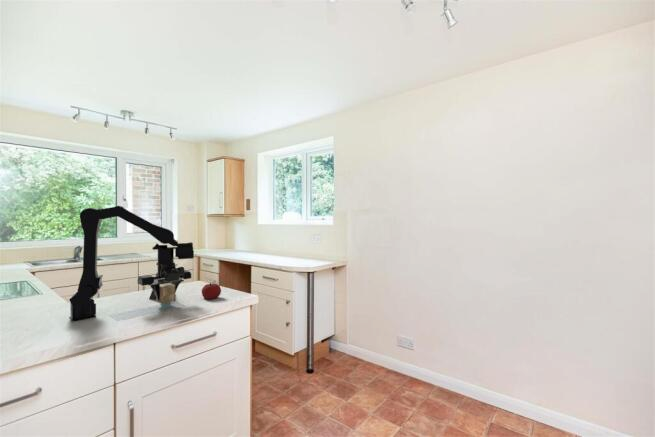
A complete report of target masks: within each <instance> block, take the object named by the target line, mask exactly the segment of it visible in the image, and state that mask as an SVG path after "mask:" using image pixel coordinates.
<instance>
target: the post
mask: <svg viewBox="0 0 655 437" xmlns="http://www.w3.org/2000/svg"><path fill="white" fill-rule="evenodd" d="M160 304H161V303H160ZM161 307H163V308H166V307H170V302H168V303H163V304H161Z"/></svg>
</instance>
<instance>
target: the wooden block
mask: <svg viewBox="0 0 655 437" xmlns="http://www.w3.org/2000/svg"><path fill="white" fill-rule="evenodd" d="M159 293H160V298H159V300H157V298H155V301H156V302H157V303H159V304H163V303H168V302H175V301H176V296H175V295H176V293H175V285H174V284H171V283H167V284H160V286H159Z"/></svg>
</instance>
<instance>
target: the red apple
mask: <svg viewBox="0 0 655 437" xmlns="http://www.w3.org/2000/svg"><path fill="white" fill-rule="evenodd" d="M221 294H222V289H221V286H220V285H219V284H218V283H212V282H209V283H207V284H205V285H203V287H202V289H201V295H202V297H203V298H204V299H206V300H210V301H211V300H214V299H218V298H219V297H220V295H221Z"/></svg>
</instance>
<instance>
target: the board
mask: <svg viewBox="0 0 655 437" xmlns="http://www.w3.org/2000/svg"><path fill="white" fill-rule="evenodd" d="M182 307H187V305H186V304H183V303H181V302H179V301H176V300H175V301H173V302H170V307H166V308H163V307H161V303H159V304H156V305H151V306H146V307H145V306H144V307H140V308H136V309H132V310H131V309H130V310H126V311H122V312H116V313H112V314H109V317H111V318H113V320H114V321H117V322H119V321H120V322H121V321H123V320H124V321H125V320H129V319H133V318H134V319H135V318H137V317H143V316H147V315H151V314H156V313H160V312H164V311H169V310H174V309H177V308H178V309H179V308H182Z"/></svg>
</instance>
